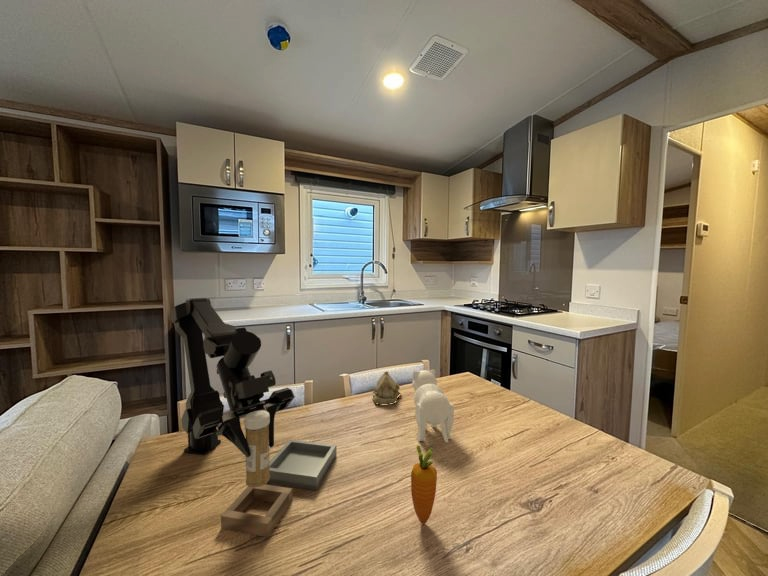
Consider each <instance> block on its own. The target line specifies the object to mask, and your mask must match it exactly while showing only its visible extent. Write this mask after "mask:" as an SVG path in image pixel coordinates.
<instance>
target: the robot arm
mask: <svg viewBox="0 0 768 576" xmlns="http://www.w3.org/2000/svg"><path fill="white" fill-rule="evenodd" d="M170 320H171V323H172V324H174V331H176V333H177V334H179V336H180V337H181V338H183V344H184V351H185V352H184V353H185V359H186V364H187V365H186V367H187V372H188V378H189V379H188V380H189V386H190V393H189V395H188V397H187V399H186V401H185V410H184V412H183V413H182V416H181V419H180V421H181V428H182V429H183V430H184V431H185V432H186V434H187V443H188V444H187V447H186V448H184V449H183V453H189V454H194V455H195V454H196V455H201V456H202V455H203V456H204V455H206V454H208V453H209V452H211V451H212V450H213V449H214V448H215V447H217V446H218V445H219V444H220V443H222V439H219V436H223V437H224V438H225V439H227V440H228V441H229V442H230V443H231V444H233V445H234V446H235V447H236V448H237V449H238V450H239V451H240V452H241V453H242V454H243V456H245V458H246V457H247V458H248V457H250V455H251V454H250V450H249V446H248V444H247V441H246V435H244V431H243V429H242V425H241V419H240V418H243V417H245V416H246V415H247V414H248V413H250V412H253V411H259V410H263V411H267V412H268V413H269V414H270V423H269V449H270V448H271V449H272V448H273V447H274V446H275V416H276V413H278V412H280V411H283V410H285V409H287V408H288V407H289V406H290V404H291V403H292V402H293V400H294V399H295V394H294V392H293V390H292V389H291V388H290V387H284V388H282V389H277V390H274V391H272V393H271V394H270V395H269V397H268V398H266V399H264V400H263V399H262V398H264V396H265V393H269V392H270V389H269V388H271V387H274V386H276V384H277V383H276V377H275V374H274V373H273V370H267V371H263V372H261V373H260V376H259V377H256V376H255V375H254V374H253V375H252V374H251V372H250V370H249V367H250V366H251V364H253V362H254V360H255V359H256V356H257V355H258V352H259V351H260V349H261V347H262V342H261V341H262V340H261V338H260V337H259V336H257V335H256V333H253V332H251V331H249V330H247V328H246V327H243V326H242V327H235V326H234V325H233V324H229V323H225V322H224V321H223V319H222V318H221V317H220V315H219V314H218V313H217V311H216V310H215V308H214V307H213V306H212V303H211V299H210V298H207V297H198V298H197V297H196V298H190V299H187V300H186V301H185V302H183V303H179V304H177V305H175V306H173V308H172V309H171V311H170ZM203 335H204V337H203ZM207 356H208V357H209V358H211V359H216V358H220V359H219V360H218V362H217V364H216V374H217V375H219V376H218V377H219V379H220V382H221V385H222V389H223V395H222V396H223V398H224V399H226V402H227V405H228V407H229V410H226V411H224V409H225V404H223V401H222V400H221V398H220V397H221V396H220V392H219V391H218V390H216V389H214V388H213V387H212V386H211V381H210V375H209V367H208V362H207ZM260 399H262V400H260Z"/></svg>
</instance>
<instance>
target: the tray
mask: <svg viewBox="0 0 768 576" xmlns="http://www.w3.org/2000/svg"><path fill="white" fill-rule="evenodd" d="M336 458H337V444H330V443H323V442H314V441H306V440H299V439H298V440H297V439H292V438H290V439H289V440H288V441H286V443H285V444H284V445H283V446H282V448H281V449H279V451H277V453H276V454H275V455H274V456H272V458H271V459H270V462H269V474H270V479H269V481H268V482H267V483H266V484H271V485H276V486H278V485H279V486H283V487H284V486H285V487H290V488H299V489H305V490H312V491H317V490H318V489H319V487H320V485H321V483H322V482H323V480H324V479H325V477H326V475H327V473H328V472H329V470H330V468H331V467H332V465H333V463H334V461H335V460H336Z"/></svg>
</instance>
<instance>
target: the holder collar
mask: <svg viewBox="0 0 768 576" xmlns="http://www.w3.org/2000/svg"><path fill="white" fill-rule="evenodd" d="M254 500H255V501H262V502H268V503H273V504H272V506H271V507H270V508H269V510H268V511H267V513H266V514H265V515H264V516H263V515H259V514H253V513H246V512H245V511H246V509H247V508H249V506H250V505H251V503H252V502H253V501H254ZM292 502H293V487H287V486H285V487H284V486H280V485H279V486H278V485H273V484H271V485H270V484H267V483H266V484H265V485H263V486H261V487H256V488H252V487H249V486H246V488H244V490H243V491H242V492H241V493H240V494H239V495H238V497H237V498H236V499H234V501H233V502H232V503H231V504H229V506H228V507H227V508H226V510H225V511H224V512H222V514H221V515H220V528H221V529H222V530H227V531H233V532H238V533H243V534H249V535H254V536H259V537H265V538H268V537H269V536H270V534H271V533H272V531H273V530H274V528H276V526H277V524H278V522H279V521H280V519H281V518H282V517H283V515H284V513H285V512H286V511H287V509H288V508H289V506H290V504H291V503H292Z"/></svg>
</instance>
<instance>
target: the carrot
mask: <svg viewBox="0 0 768 576" xmlns="http://www.w3.org/2000/svg"><path fill="white" fill-rule="evenodd" d="M433 450H434V449H433V448H429V449H428V450H427V452H426V453H425V455H424V454H423V452H422V448H421V446H420V444H418V445H416V451H417V453H418V461H419V462H418V463H415V464H413V466H412V469H411V473H410V487H411V488H410V489H411V492H410V493H411V497H412V498H411V499H412V500H411V501H412V503H413V504H412V505H413V509H414V512H415V514H416V517H417V519H418V520H419V523H421V525H424V524H426V523H427V522H428V520H429V519H430V517H431V515H432V511H433V508H434V503H435V498H436V494H437V493H436V492H437V481H438V480H437V479H438V476H437V475H438V472H437V469H436V467H434V466H433V464H434V461H433V460H430V459H431V457H432V456H433Z"/></svg>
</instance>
